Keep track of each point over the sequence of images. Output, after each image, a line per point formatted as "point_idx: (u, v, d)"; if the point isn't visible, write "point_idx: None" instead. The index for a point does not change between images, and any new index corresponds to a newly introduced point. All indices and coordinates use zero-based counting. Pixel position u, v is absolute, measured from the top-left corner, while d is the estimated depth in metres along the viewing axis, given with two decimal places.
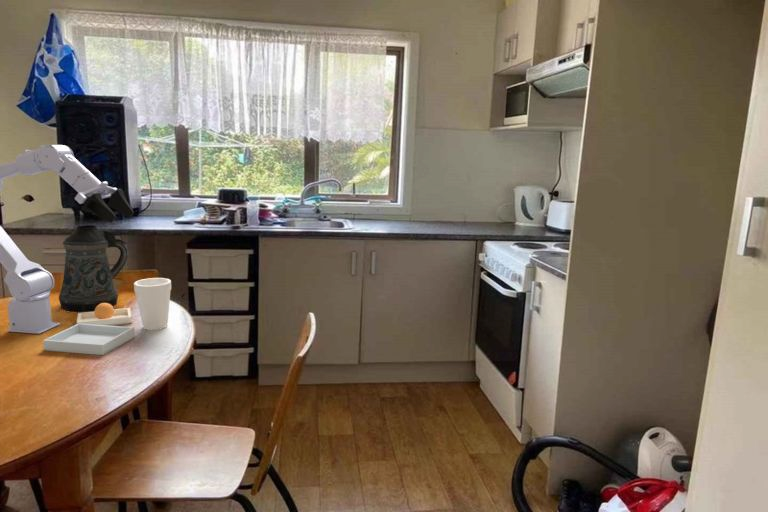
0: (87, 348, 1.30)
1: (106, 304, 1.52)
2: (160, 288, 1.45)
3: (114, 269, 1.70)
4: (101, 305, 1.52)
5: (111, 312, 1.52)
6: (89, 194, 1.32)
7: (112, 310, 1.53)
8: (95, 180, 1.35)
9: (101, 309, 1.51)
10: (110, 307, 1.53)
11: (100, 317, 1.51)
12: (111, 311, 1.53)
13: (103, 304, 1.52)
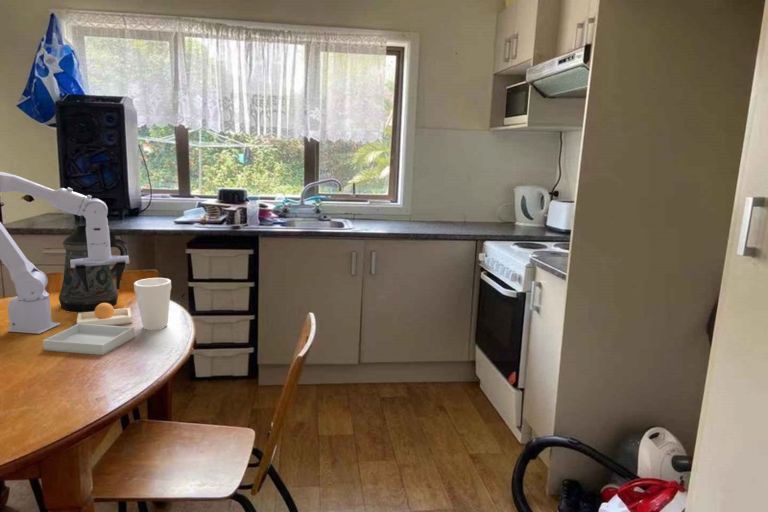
0: (87, 348, 1.30)
1: (106, 304, 1.52)
2: (160, 288, 1.45)
3: (114, 269, 1.70)
4: (101, 305, 1.52)
5: (111, 312, 1.52)
6: None
7: (112, 310, 1.53)
8: (97, 254, 1.47)
9: (101, 309, 1.51)
10: (110, 307, 1.53)
11: (100, 317, 1.51)
12: (111, 311, 1.53)
13: (103, 304, 1.52)
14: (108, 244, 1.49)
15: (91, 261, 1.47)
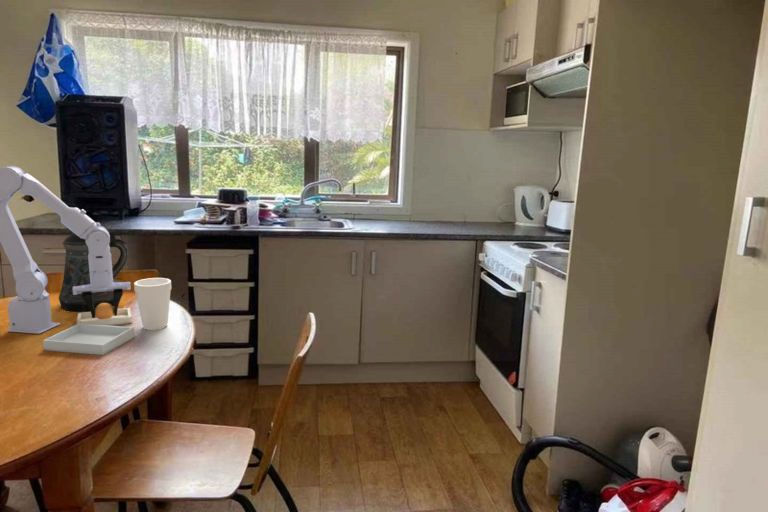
0: (87, 348, 1.30)
1: (106, 304, 1.52)
2: (160, 288, 1.45)
3: (114, 269, 1.70)
4: (101, 305, 1.52)
5: (111, 312, 1.52)
6: None
7: (112, 310, 1.53)
8: (99, 281, 1.48)
9: (101, 309, 1.51)
10: (110, 307, 1.53)
11: (100, 317, 1.51)
12: (111, 311, 1.53)
13: (103, 304, 1.52)
14: (110, 271, 1.50)
15: (93, 288, 1.48)
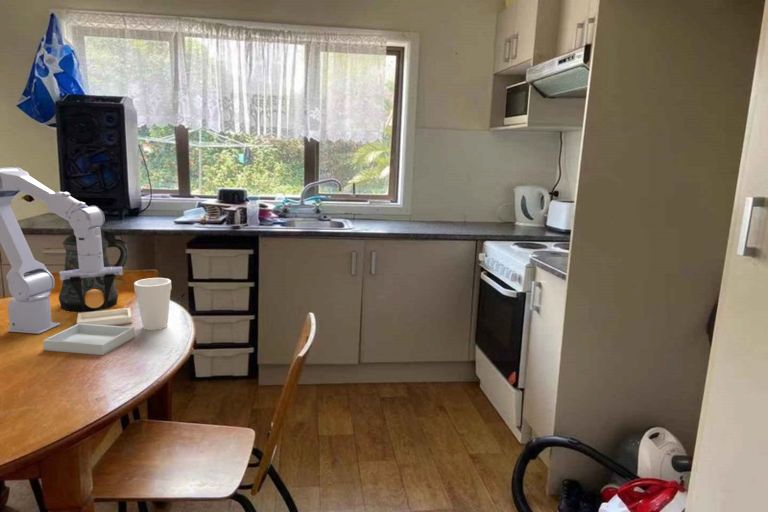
0: (87, 348, 1.30)
1: (96, 290, 1.41)
2: (160, 288, 1.45)
3: None
4: (91, 291, 1.40)
5: (102, 299, 1.41)
6: None
7: (103, 297, 1.42)
8: (89, 265, 1.37)
9: (91, 296, 1.40)
10: (101, 294, 1.41)
11: (90, 304, 1.40)
12: (102, 298, 1.41)
13: (93, 291, 1.40)
14: (100, 255, 1.39)
15: (82, 273, 1.37)
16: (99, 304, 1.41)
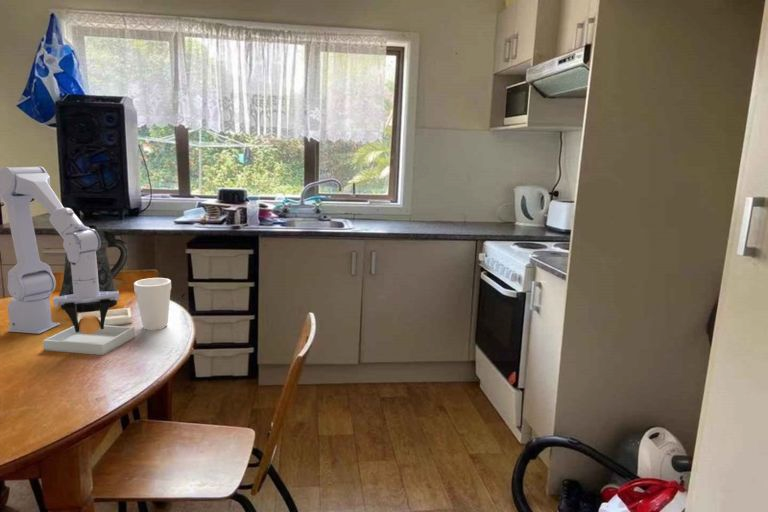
0: (87, 348, 1.30)
1: (91, 316, 1.36)
2: (160, 288, 1.45)
3: (114, 269, 1.70)
4: (86, 317, 1.35)
5: (97, 325, 1.36)
6: None
7: (98, 323, 1.36)
8: (83, 291, 1.32)
9: (86, 322, 1.34)
10: (96, 320, 1.36)
11: (84, 331, 1.34)
12: (97, 324, 1.36)
13: (88, 317, 1.35)
14: (96, 280, 1.34)
15: (76, 299, 1.32)
16: (94, 331, 1.35)
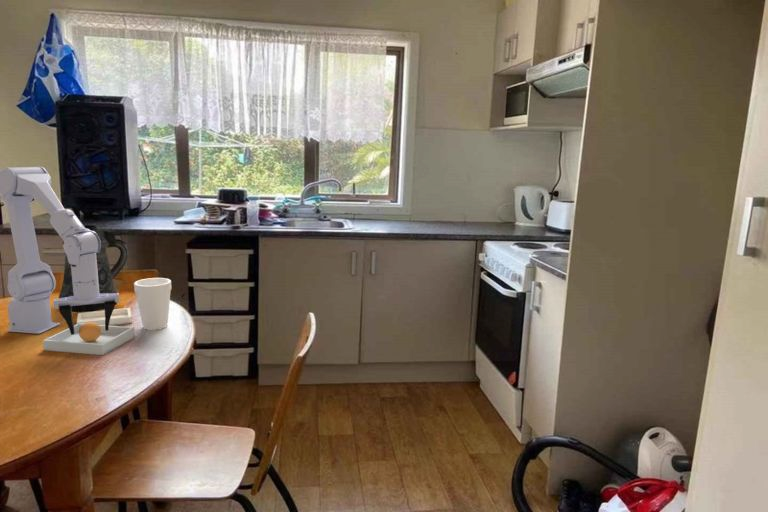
0: (87, 348, 1.30)
1: (92, 324, 1.36)
2: (160, 288, 1.45)
3: (114, 269, 1.70)
4: (86, 325, 1.35)
5: (98, 332, 1.36)
6: None
7: (99, 330, 1.37)
8: (83, 293, 1.32)
9: (86, 330, 1.34)
10: (96, 327, 1.36)
11: (85, 338, 1.35)
12: (98, 331, 1.36)
13: (88, 324, 1.35)
14: (96, 282, 1.34)
15: (76, 301, 1.32)
16: (95, 338, 1.36)
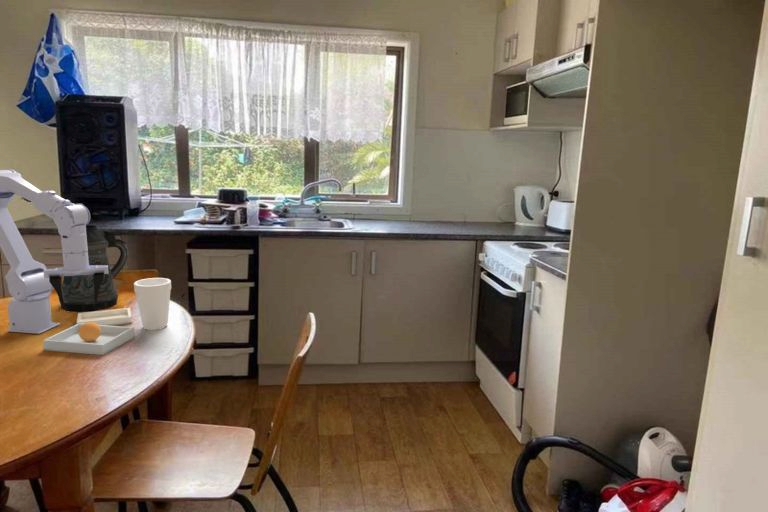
0: (87, 348, 1.30)
1: (91, 324, 1.36)
2: (160, 288, 1.45)
3: (114, 269, 1.70)
4: (86, 325, 1.35)
5: (97, 332, 1.36)
6: None
7: (98, 330, 1.36)
8: (73, 264, 1.36)
9: (86, 330, 1.34)
10: (96, 327, 1.36)
11: (85, 338, 1.35)
12: (98, 331, 1.36)
13: (88, 324, 1.35)
14: (85, 253, 1.38)
15: (66, 271, 1.36)
16: (95, 338, 1.36)
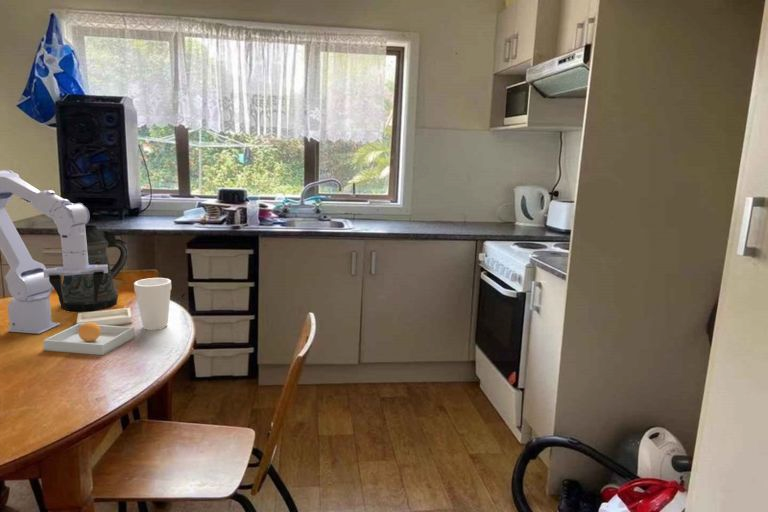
0: (87, 348, 1.30)
1: (91, 324, 1.36)
2: (160, 288, 1.45)
3: (114, 269, 1.70)
4: (85, 325, 1.35)
5: (97, 332, 1.36)
6: None
7: (98, 330, 1.36)
8: (73, 263, 1.36)
9: (86, 330, 1.34)
10: (96, 327, 1.36)
11: (85, 339, 1.35)
12: (97, 331, 1.36)
13: (88, 324, 1.35)
14: (85, 252, 1.38)
15: (66, 271, 1.36)
16: (94, 338, 1.36)
